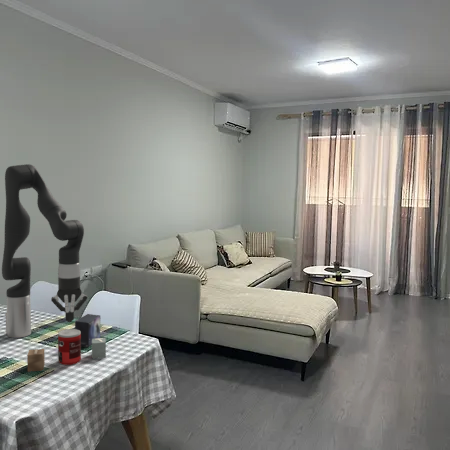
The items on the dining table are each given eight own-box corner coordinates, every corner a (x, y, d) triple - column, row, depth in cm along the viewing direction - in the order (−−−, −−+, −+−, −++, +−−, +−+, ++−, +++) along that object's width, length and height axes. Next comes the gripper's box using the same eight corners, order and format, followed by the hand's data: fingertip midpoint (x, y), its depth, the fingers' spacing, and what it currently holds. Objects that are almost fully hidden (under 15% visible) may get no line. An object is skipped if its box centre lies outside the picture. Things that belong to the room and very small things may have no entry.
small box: (88, 347, 179) (88, 322, 178) (74, 346, 180) (73, 321, 179) (101, 338, 189) (101, 314, 188) (87, 337, 191) (87, 313, 189)
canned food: (61, 357, 169) (61, 328, 168) (83, 356, 170) (82, 328, 169) (55, 365, 161) (55, 336, 160) (78, 365, 162) (78, 335, 161)
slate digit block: (92, 358, 168) (91, 343, 168) (92, 353, 173) (92, 338, 172) (105, 357, 170) (105, 341, 169) (105, 352, 174) (105, 337, 174)
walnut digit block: (27, 371, 156) (27, 354, 155) (29, 366, 161) (29, 349, 160) (43, 370, 157) (42, 353, 157) (44, 364, 162) (44, 348, 161)
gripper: (49, 278, 156) (50, 326, 158) (89, 276, 161) (89, 323, 163) (49, 274, 163) (50, 320, 165) (87, 272, 168) (87, 316, 170)
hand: (69, 321), depth 164 cm, fingers closed
